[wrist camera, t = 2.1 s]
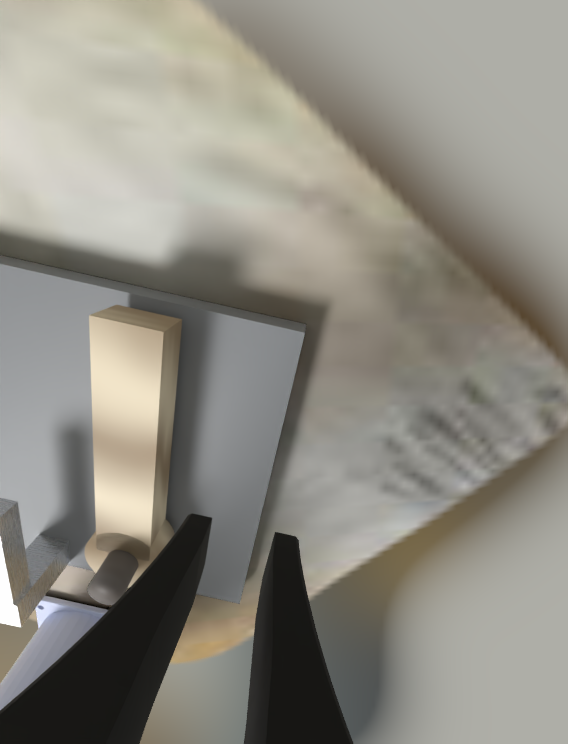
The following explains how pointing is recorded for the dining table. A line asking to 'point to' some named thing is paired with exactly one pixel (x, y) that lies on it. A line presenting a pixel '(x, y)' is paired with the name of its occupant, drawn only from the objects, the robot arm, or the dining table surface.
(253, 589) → the dining table surface
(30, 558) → the keeper
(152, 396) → the link
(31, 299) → the board
